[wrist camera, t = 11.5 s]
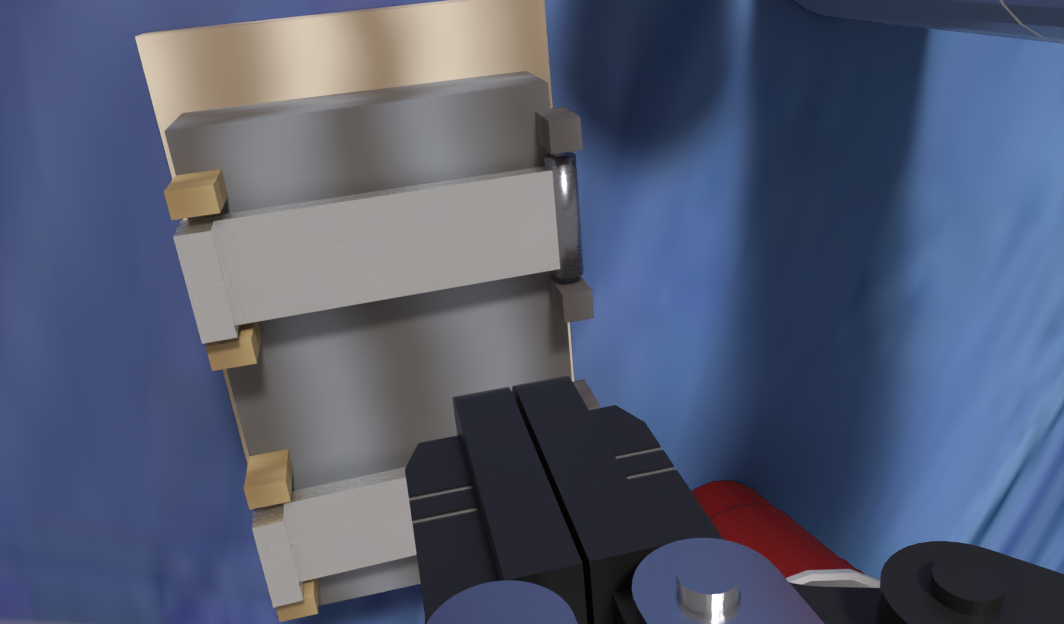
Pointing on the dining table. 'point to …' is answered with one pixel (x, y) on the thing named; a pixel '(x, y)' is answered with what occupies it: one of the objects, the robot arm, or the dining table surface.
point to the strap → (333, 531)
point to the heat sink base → (353, 168)
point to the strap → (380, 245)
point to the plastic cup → (776, 537)
